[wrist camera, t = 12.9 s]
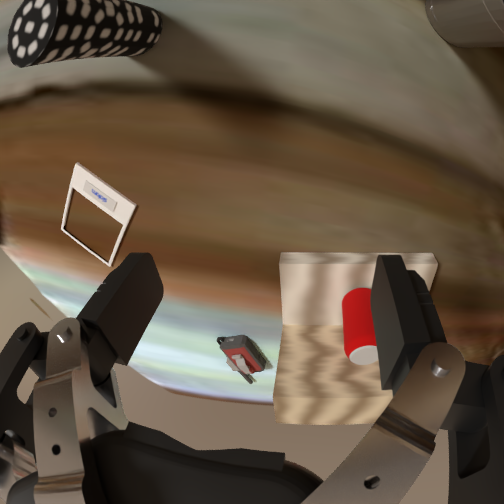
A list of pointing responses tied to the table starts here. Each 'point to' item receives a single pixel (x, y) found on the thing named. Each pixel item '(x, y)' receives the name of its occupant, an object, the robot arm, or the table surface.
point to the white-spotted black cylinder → (80, 30)
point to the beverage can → (359, 327)
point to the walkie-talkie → (242, 355)
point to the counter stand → (328, 339)
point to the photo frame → (100, 201)
